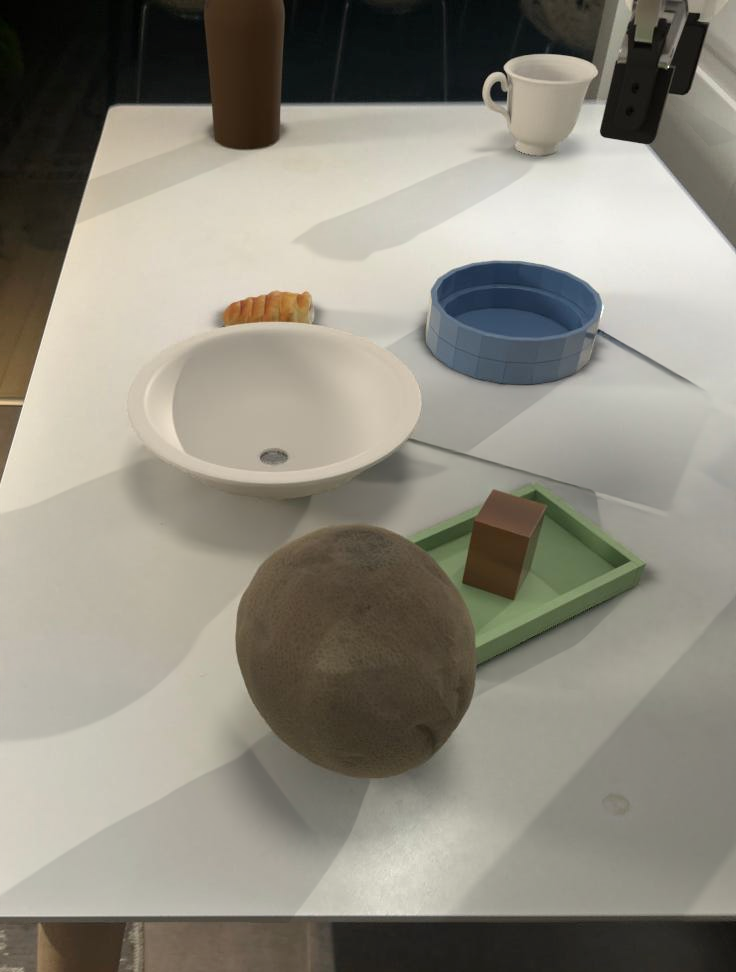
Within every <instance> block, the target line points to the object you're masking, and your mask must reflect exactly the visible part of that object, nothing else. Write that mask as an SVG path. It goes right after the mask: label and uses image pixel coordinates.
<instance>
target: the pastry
mask: <svg viewBox="0 0 736 972" xmlns="http://www.w3.org/2000/svg"><path fill="white" fill-rule="evenodd" d="M315 316H316V315H315V309H314V304H313V298H312V294H311V293H310V292H309V291H307V290H305V291H304V292H303V293H298V292H291V291H280V290H273V291H270V292H268V293H267V294H260V295H258V296H248V297H246V298H245V299H241V300H238V301H234V302H232V303H230V304H229V305H228V306H227V307H226V309H225V310H224V312H223V313H222V315H221V319H222V323H223V326H224V327H226V326H232V325H238V324H246V323H258V322H294V323H305V324H313V323H314V320H315Z"/></svg>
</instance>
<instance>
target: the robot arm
mask: <svg viewBox="0 0 736 972" xmlns="http://www.w3.org/2000/svg"><path fill="white" fill-rule="evenodd" d="M728 2H729V0H624V3H625V6H626V7H627V10H629V13H631V16H630V19H629V21H628V23H627V27H626V30H625V33H624V36H623V39H622V42H621V44H620V47H619V51H618V55H617V58H616V60H615V62H614V67H613V72H612V76H611V81H610V84H609V89H608V93H607V98H606V103H605V106H604V110H603V114H602V120H601V123H600V128H599V134H600V136H601V137H602V138H604V139H610V140H617V141H622V142H629V143H635V144H643V145H650V144H652V143H653V142H654V141H655V140H656V138H657V136H658V133H659V129H660V126H661V122H662V118H663V115H664V112H665V111H664V110H665V107H666V104H667V99H668V96H669V94H670V95H677V96H685V95H687V94H688V93H689V92H690V91H691V89H692V86H693V83H694V80H695V76H696V73H697V69H698V66H699V63H700V60H701V56H702V52H703V48H704V45H705V41H706V38H707V34H708V32H709V31H708V30H709V27H710V24H711V22H709V21H710V20H711V19H713V18H715V17H716V16H717V15H718V14H719V13H720V12H721V10H723V8H724V7H725V6H726V5H727V4H728Z"/></svg>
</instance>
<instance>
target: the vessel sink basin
mask: <svg viewBox="0 0 736 972" xmlns="http://www.w3.org/2000/svg"><path fill="white" fill-rule="evenodd" d="M422 406H423V403H422V394H421V390H420V387H419V384H418V381H417V380H416V378H415V376H414V374H413V373H412V371H411V370H410V369H409V368H408V366H407V364H405V363H403V361H401V360H400V358H399V357H397V356H396V355H395V354H393V353H392V352H391V351H389V350H388V349H386V348H385V347H383V346H381V345H379V344H377V343H375V342H373V341H371V340H370V339H368V338H365V337H362V336H359V335H357V334H354V333H351V332H348V331H344V330H341V329H338V328H334V327H329V326H325V325H319V324H313V323H312V324H305V323H294V322H258V323H246V324H238V325H232V326H226V327H225V326H223V327H217V328H213V329H210V330H206V331H203V332H200V333H196V334H194V335H191V336H189V337H186V338H184V339H181V340H180V341H177V342H176V343H173V344H172V345H169V346H168V347H166V348H165V349H163V350H161V351H160V352H159V353H157V354H156V355H154V356H153V357H152V358H151V359H149V361H147V362H146V363H145V364H144V365H143V367H142V368H141V369H139V371H138V373H137V374H136V375H135V377H134V379H133V380H132V382H131V384H130V386H129V389H128V393H127V399H126V412H127V413H126V414H127V417H128V421H129V423H130V426H131V428H132V430H133V431H134V433H135V435H136V437H137V438H138V440H140V442H141V443H142V445H144V446H145V447H146V448H147V449H148V450H149V451H150V452H151V453H152V454H154V455H155V456H156V457H158V458H159V459H161V460H162V461H164V462H165V463H167V464H169V465H170V466H173V467H175V468H177V469H179V470H180V471H183V472H184V473H186V474H187V475H189V477H192V478H194V479H195V480H197V481H199V482H200V483H202V484H204V485H207V486H208V487H210V488H213V489H214V490H218V491H221V492H224V493H227V494H229V495H234V496H238V497H243V498H248V499H255V500H257V499H258V500H290V499H292V500H293V499H298V498H303V497H309V496H313V495H317V494H320V493H323V492H326V491H329V490H332V489H335V488H337V487H338V486H342V485H343V484H345V483H347V482H349V481H350V480H352V479H354V478H355V477H357V476H358V475H360V474H361V473H363V472H364V471H366V470H368V469H370V468H372V467H374V466H376V465H378V464H380V463H381V462H383V461H385V460H386V459H388V458H389V457H390V456H392V455H393V454H394V453H396V452H397V451H398V450H399V449H400V448H402V446H403V445H404V444H405V443H406V442H407V441H408V440H409V439H410V437H411V436H412V434H413V433H414V431H415V430H416V427H417V425H418V423H419V421H420V417H421V414H422V408H423V407H422ZM269 452H280V453H283V454H285V456H286V457H287V460H286V461H284V462H283V463H281V464H273V465H272V464H267V463H265V462H264V461H262V460H261V457H262V455H263V454H265V453H269Z"/></svg>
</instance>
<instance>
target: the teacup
mask: <svg viewBox="0 0 736 972" xmlns="http://www.w3.org/2000/svg"><path fill="white" fill-rule="evenodd" d="M503 70H504V71H505V73H506V75H507V77H506V75H505V74H504V73H503V72H500V71H495V72H492V73H491V74H489V75H488V76H487V78H486V79H485V81H484V84H483V87H482V99H483V102H484V105H486V107H487V108H488V109H489V110H491V111H493V112H496V113H499V114H501V115H502V116H503V117H504V119H505V121H506V126H507V129H508V131H509V133H510V134H511V136H512V137H513V138H514V139H515V140H516V142H515V144H514V148H515V149H516V151H518V152H519V151H520V152H519V153H521V152H522V153H521V154H524V153H525V154H524V155H528V154H529V156H535V155H536V156H537V157H539V156H540V157H541V156H550V155H552V154H554V153H556V152H557V151H558V143H559V142H562V141H563V140H565V139H566V138H568V137H569V135H571V134H572V132H573V131H574V128H575V127H576V124H577V122H578V119H579V117H580V113H581V111H582V107H583V104H584V101H585V98H586V95H587V92H588V90H589V87H590V84H591V83H592V81H593V79H595V77H596V76H598V75H599V74H598V73H599V71H598V69H597V67H596V65H594V64H593V63H592V62H591V61H588V60H585V59H583V58H579V57H575V56H570V55H564V54H563V55H562V54H552V53H534V54H527V55H520V56H517V57H514V58H511V59H510V60H508V61H507V62H506V63H505V64H504V65H503ZM497 82H500V87H501V90H502V92H504V93H506V92H507V98H506V108H504V106H501V105H500V104H498V103H496V102H495V101H493V99H492V97H491V89H492V87H493V85H494V84H495V83H497Z"/></svg>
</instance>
